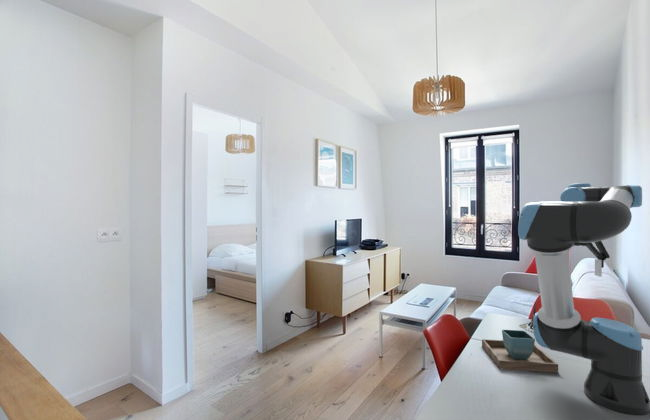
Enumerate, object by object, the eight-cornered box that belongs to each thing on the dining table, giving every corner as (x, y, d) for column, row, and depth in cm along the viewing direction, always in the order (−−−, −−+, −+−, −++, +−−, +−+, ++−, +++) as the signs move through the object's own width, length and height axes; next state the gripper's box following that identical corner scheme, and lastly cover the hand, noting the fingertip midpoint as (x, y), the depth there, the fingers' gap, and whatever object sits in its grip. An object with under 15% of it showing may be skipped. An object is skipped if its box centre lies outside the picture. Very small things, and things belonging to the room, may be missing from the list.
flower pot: (524, 352, 131) (524, 330, 130) (535, 362, 122) (535, 339, 122) (501, 351, 132) (501, 329, 132) (510, 361, 123) (510, 337, 123)
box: (558, 372, 116) (558, 364, 116) (499, 368, 119) (499, 360, 119) (531, 349, 135) (531, 341, 135) (481, 346, 138) (481, 339, 138)
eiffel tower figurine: (533, 322, 168) (533, 296, 168) (554, 329, 158) (554, 302, 158) (514, 327, 162) (514, 300, 162) (534, 334, 152) (534, 305, 152)
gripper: (607, 222, 131) (607, 274, 131) (540, 221, 135) (540, 272, 135) (621, 222, 124) (621, 278, 124) (550, 222, 128) (550, 276, 128)
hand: (579, 275), depth 130 cm, fingers open, 13 cm apart
